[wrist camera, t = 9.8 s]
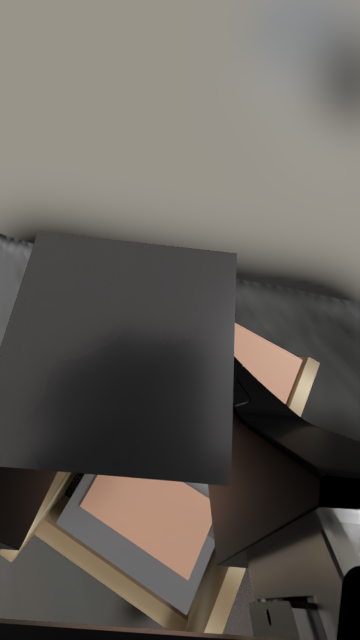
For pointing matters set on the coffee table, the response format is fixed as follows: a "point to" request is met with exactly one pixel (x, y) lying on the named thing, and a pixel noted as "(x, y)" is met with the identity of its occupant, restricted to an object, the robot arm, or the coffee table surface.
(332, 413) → the coffee table surface
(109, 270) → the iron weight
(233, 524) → the robot arm
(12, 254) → the coffee table surface
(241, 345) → the trapdoor
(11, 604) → the coffee table surface
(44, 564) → the coffee table surface
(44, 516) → the trapdoor frame
